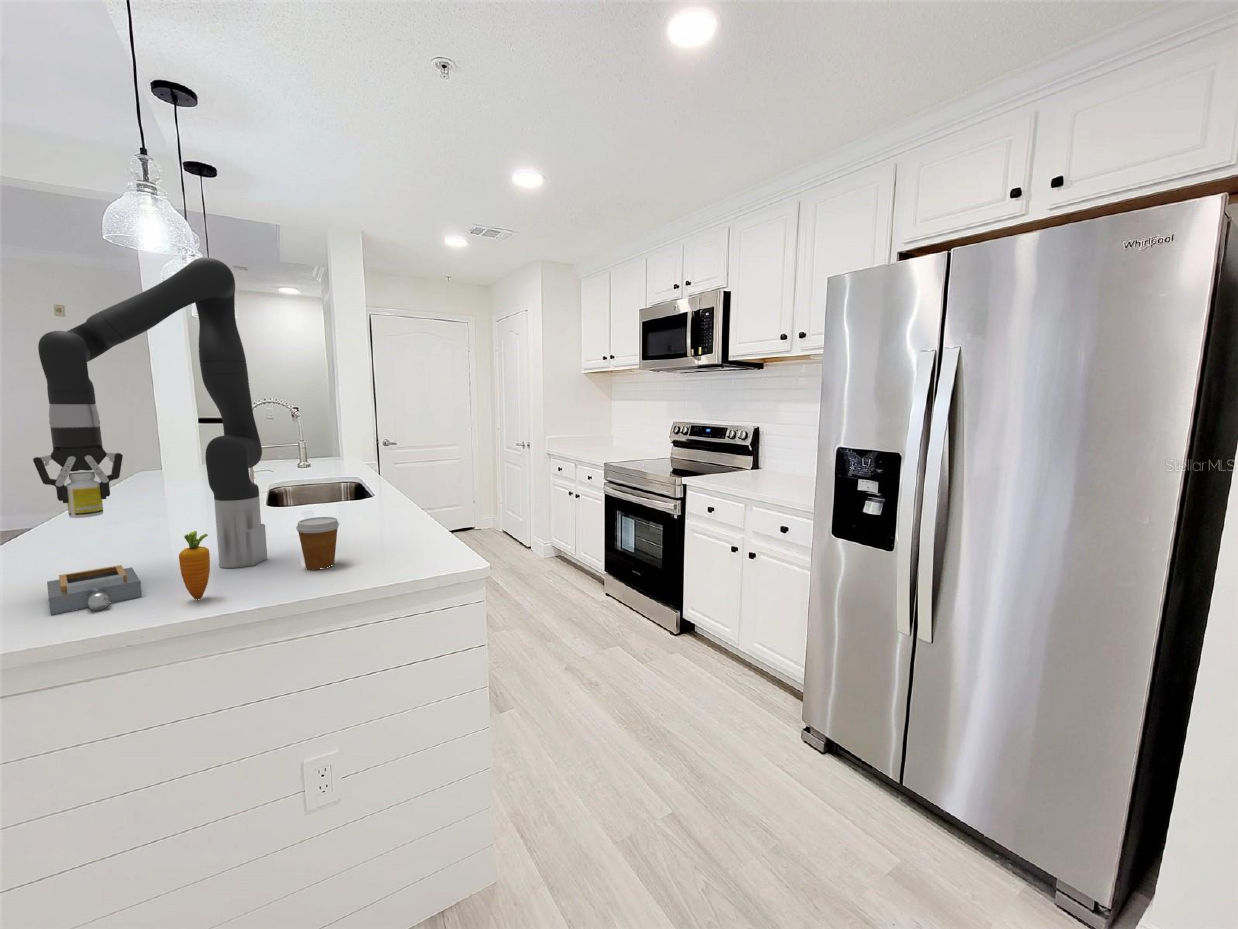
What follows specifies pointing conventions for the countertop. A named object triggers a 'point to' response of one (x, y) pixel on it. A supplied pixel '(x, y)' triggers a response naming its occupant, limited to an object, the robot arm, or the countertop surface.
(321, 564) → the disposable coffee cup
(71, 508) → the supplement bottle
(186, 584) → the carrot
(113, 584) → the grey drawer
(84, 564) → the countertop surface
